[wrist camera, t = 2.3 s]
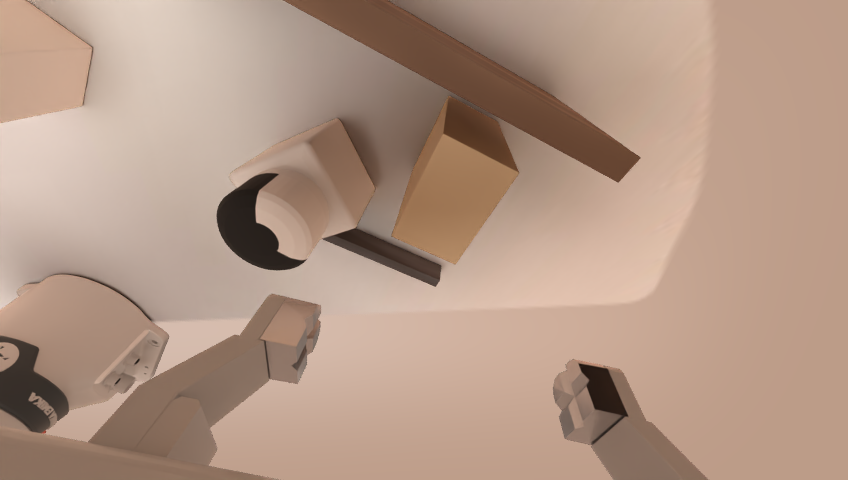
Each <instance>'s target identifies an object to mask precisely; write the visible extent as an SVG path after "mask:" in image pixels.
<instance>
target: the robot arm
mask: <svg viewBox="0 0 848 480" xmlns="http://www.w3.org/2000/svg"><path fill="white" fill-rule="evenodd" d="M17 294H18V296H19V297H18V298H16V299H15V300H13V301H12V302H11V303H9V304H8V305H6V306H5V307H4V308H2V309H1V310H0V480H279V479H274V478H269V477H263V476H258V475H253V474H248V473H243V472H238V471H233V470H227V469H222V468H217V467H212V466H209V464H210V462H211V460H212V458H213V457H214V455H215V453H216V451H217V446H216V443H215V440H214V438H213V435H212V433H211V430H210V427H212V426H213V425H214V424H215V423H217V422H218V421H219V420H220V419H222V418H223V417H224V416H225V415H226V414H228V413H229V412H230V411H232V410H233V409H234V408H235V407H237V406H238V405H239V404H240V403H241V402H243V401H244V400H246V399H247V398H248V397H249V396H251V395H252V394H253V393H254V392H255V391H257V390H258V389H259V388H261V387H262V386H263V385H264V384H265V383H267V382H268V381H269V379H272V380H278V381H285V382H289V383H295V384H298V382H299V380H300V378H301V376H302V374H303V372H304V369H305V367H306V365H307V355H308V354H310V353H311V352H313V349H314V347H315V345H316V342H317V339H318V336H319V332H320V321H319V320H318V318H319V316H320V313H321V305H318V304H313V303H309V302H305V301H301V300H297V299H293V298H289V297H284V296H280V295H275V294H271V295H270V296H268V297H267V298H266V300H265V301H264V303H263V304H262V305H261V307H260V308H259V309H258V311H257V312H256V314H255V315H254V316H253V318H252V319H251V321H250V322H249V323H248V325H247V326H246V328H245V329H244V330H243V332H242V333H241V335H240V336H239V335H233V336H231V337H230V338H228V339H226V340H224V341H222V342H220V343H218V344H216V345H214V346H213V347H211V348H209V349H207V350H205V351H203V352H201V353H199V354H197V355H196V356H194V357H192V358H190V359H188V360H186V361H185V362H182V363H180V364H179V365H177V366H175V367H173V368H171V369H169V370H167V371H165V372H164V373H162V374H160V375H158V376H156V377H154V378H152V377H153V376H154V374H155V371H156V369H157V366H158V364H159V361H160V359H161V356H162V354H163V351H164V349H165V346H166V344H167V341H168V339H169V335H168V334H167V333H166V332H165V331H164V330H162V329H161V328H160V327H158V326H156V325H155V324H154V323H152V322H151V321H150V320H149V319H148V318H147V317H146V316H145V315H144V314H143V313H142V311H141V310H140V309H139V308H137V307H136V306H135V305H134V304H133V303H132V302H130V301H129V300H128V299H126V298H125V297H123V296H122V295H120V294H119V293H117V292H115V291H114V290H112V289H110V288H108V287H106V286H104V285H102V284H99V283H97V282H94V281H92V280H89V279H86V278H82V277H78V276H73V275H53V276H50V277H47V278H46V279H44V280H43V281H42V282H40V283H37V284H26V285H24V286H22V287H21V288H20V289H18V290H17ZM566 369H567V370H566V371H563V372H561V373H559V374H558V376H557V377H556V378H555V381H554V386H553V394H554V399H555V403H556V404H557V405H558V406H559V407H560V409H561V410H562V412H561V414H560V416H559V419H560V422H561V426H562V430H563V434H564V438H565V439H567V440H571V441H576V442H580V443H584V444H588V445H592V446H591V448H592V449H593V450H594V452H595V453H596V455H597V456H598V458H599V459H600V461H601V462H602V464H603V465H604V467H605V468H606V469H607V471H608V472H609V474H610V475H611V477H612V478H613V480H708V479H707V478H706V477H705V476H704V475H703V474H702V473H701V472H700V471H699V470H698V469H697V468H696V467H695V466H694V465H693V464H692V463H691V462H690V461H689V460H688V459H687V458H686V457H685V456H684V455H683V454H682V453H681V452H680V451H679V450H678V449H677V448H676V447H675V446H674V445H673V444H672V443H671V442H670V441H669V440H668V439H667V438H666V437H665V436H664V435H663V434H662V433H661V432H660V431H659V430H658V428H656V426H655V425H654V424H652V423H651V422H648V421H646V419H645V417H644V415H643V413H642V411H641V408H640V407H639V404H638V402H637V400H636V398H635V396H634V394H633V392H632V390H631V388H630V386H629V383H628V381H627V379H626V377H625V375H624V373H623V372H622V371H621V370H620V369H617V368H612V367H608V366H602V365H600V364H594V363H589V362H585V361H580V360H575V359H572V360H570V361H569V362H568V363H567V364H566ZM151 378H152V379H151ZM135 381H147V382H145V383H143V384H141V385H139V386H138V387H137V388H136V389H135V391H134V392H133V393H132V394H131V395H130V396H129V397H128V398H127V399H126V401H125V402H124V403H123V404H122V405H121V406H120V407H119V408H118V409H117V411H116V412H115V413H114V414H113V415H112V416H111V417H110V418H109V419H108V420H107V422H106V423H105V424H104V425H103V426H102V427H101V428H100V429H99V430H98V432H97V433H96V434H95V435H94V436H93V437H92V438H91V439H90V440H89V441H88V442H83V441H78V440H73V439H68V438H63V437H57V436H52V435H47V434H42V433H46V431H45V430H46V429H49V428H51V427H52V426H53V425H55V423H56V422H57V421H59V420H60V419H61V418H63V417H64V416H65V415H67V414H68V412H69V410H73V409H76V408H81V407H85V406H88V405H93V404H97V403H102V402H105V401H108V400H109V399H110V398H112V397H113V396H114V395H115V394H116V393H117V392H119V393H121V394H122V393H125V392H127V391H128V390H129V388H130V387H131V386H132V385H133V383H134V382H135Z"/></svg>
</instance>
